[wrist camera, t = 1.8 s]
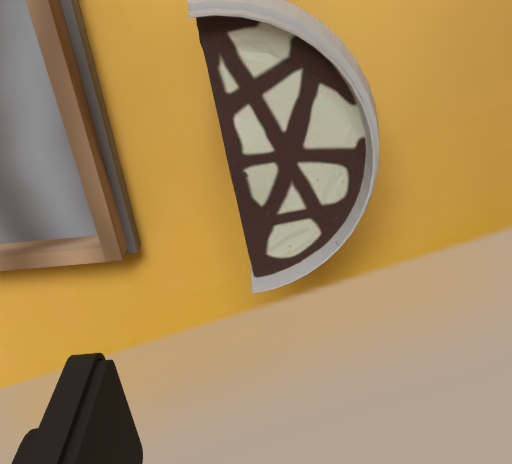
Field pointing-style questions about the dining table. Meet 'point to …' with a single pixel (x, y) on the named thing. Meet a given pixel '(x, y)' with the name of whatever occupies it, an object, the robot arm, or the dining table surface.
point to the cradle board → (56, 145)
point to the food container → (289, 131)
